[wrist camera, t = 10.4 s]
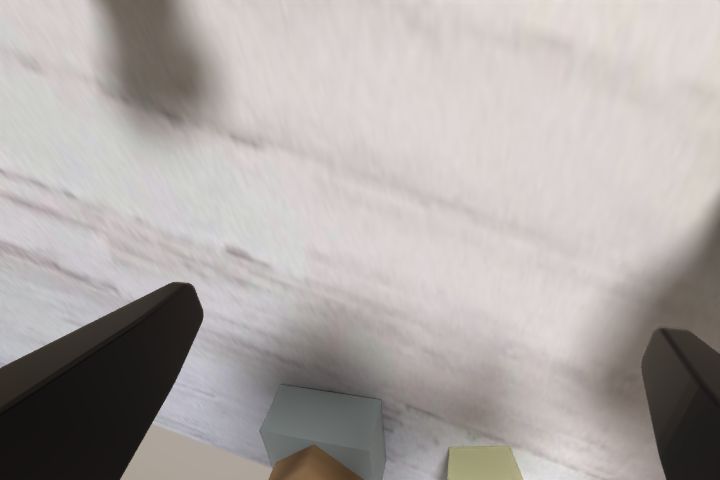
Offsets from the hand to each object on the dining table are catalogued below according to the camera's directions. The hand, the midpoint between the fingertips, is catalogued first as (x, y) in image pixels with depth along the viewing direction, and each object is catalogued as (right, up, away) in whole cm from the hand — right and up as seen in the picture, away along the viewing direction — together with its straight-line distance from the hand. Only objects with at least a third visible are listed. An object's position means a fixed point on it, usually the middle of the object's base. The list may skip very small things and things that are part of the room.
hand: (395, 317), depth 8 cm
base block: (-3, -13, +26) cm, 29 cm away
